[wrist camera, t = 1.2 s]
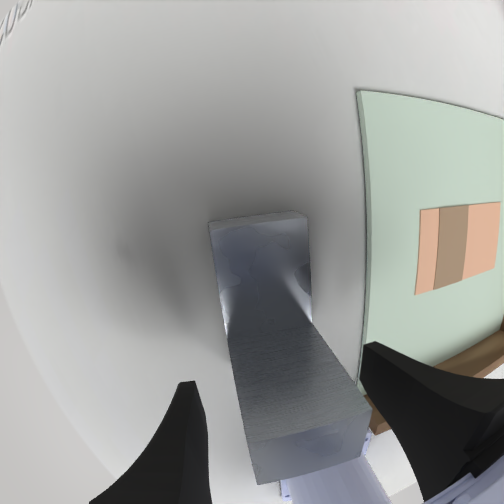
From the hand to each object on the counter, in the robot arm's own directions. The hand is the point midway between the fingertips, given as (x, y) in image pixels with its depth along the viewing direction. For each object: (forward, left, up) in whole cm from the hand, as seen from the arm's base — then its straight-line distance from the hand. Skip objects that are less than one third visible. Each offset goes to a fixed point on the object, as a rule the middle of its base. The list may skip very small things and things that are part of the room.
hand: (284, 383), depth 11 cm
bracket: (+2, 0, -4) cm, 5 cm away
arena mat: (+2, -15, -4) cm, 16 cm away
